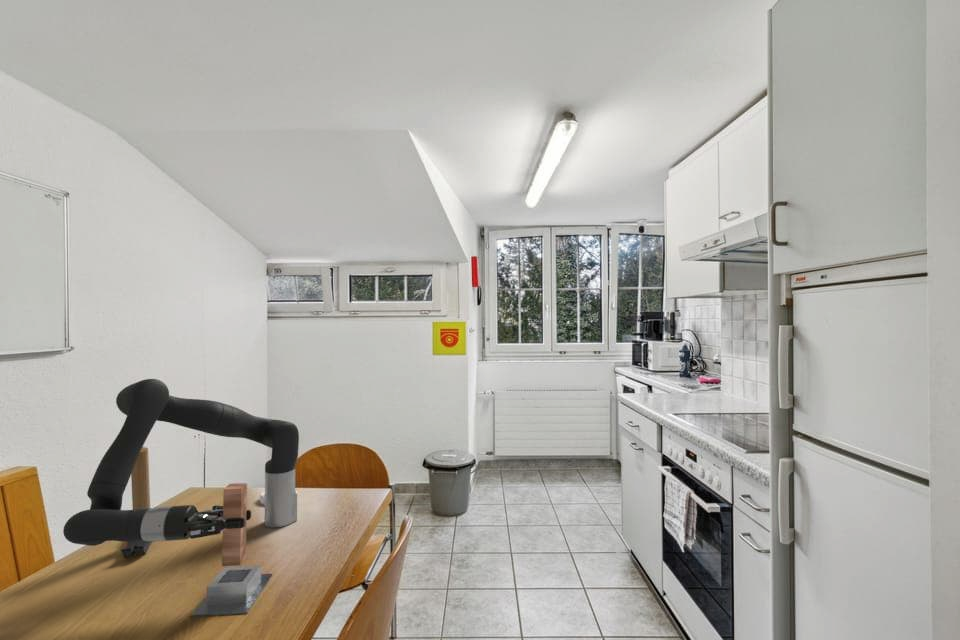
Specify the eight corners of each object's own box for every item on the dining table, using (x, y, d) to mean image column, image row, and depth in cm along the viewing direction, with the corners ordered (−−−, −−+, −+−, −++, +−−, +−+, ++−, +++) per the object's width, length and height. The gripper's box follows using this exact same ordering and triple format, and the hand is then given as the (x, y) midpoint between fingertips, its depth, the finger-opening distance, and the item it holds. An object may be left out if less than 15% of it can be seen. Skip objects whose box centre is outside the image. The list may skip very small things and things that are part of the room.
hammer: (144, 565, 128) (140, 464, 123) (121, 569, 126) (117, 467, 121) (160, 524, 146) (157, 435, 141) (141, 527, 144) (137, 437, 139)
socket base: (224, 580, 117) (224, 560, 117) (272, 577, 118) (272, 558, 119) (190, 619, 101) (191, 596, 101) (247, 616, 102) (247, 593, 103)
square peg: (228, 558, 112) (229, 483, 112) (245, 556, 112) (247, 482, 113) (221, 566, 108) (223, 489, 108) (240, 565, 108) (241, 488, 109)
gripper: (154, 519, 101) (237, 514, 104) (184, 496, 115) (257, 492, 118) (153, 553, 101) (237, 547, 104) (183, 526, 115) (256, 522, 118)
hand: (247, 518), depth 111 cm, fingers closed on square peg, 4 cm apart
